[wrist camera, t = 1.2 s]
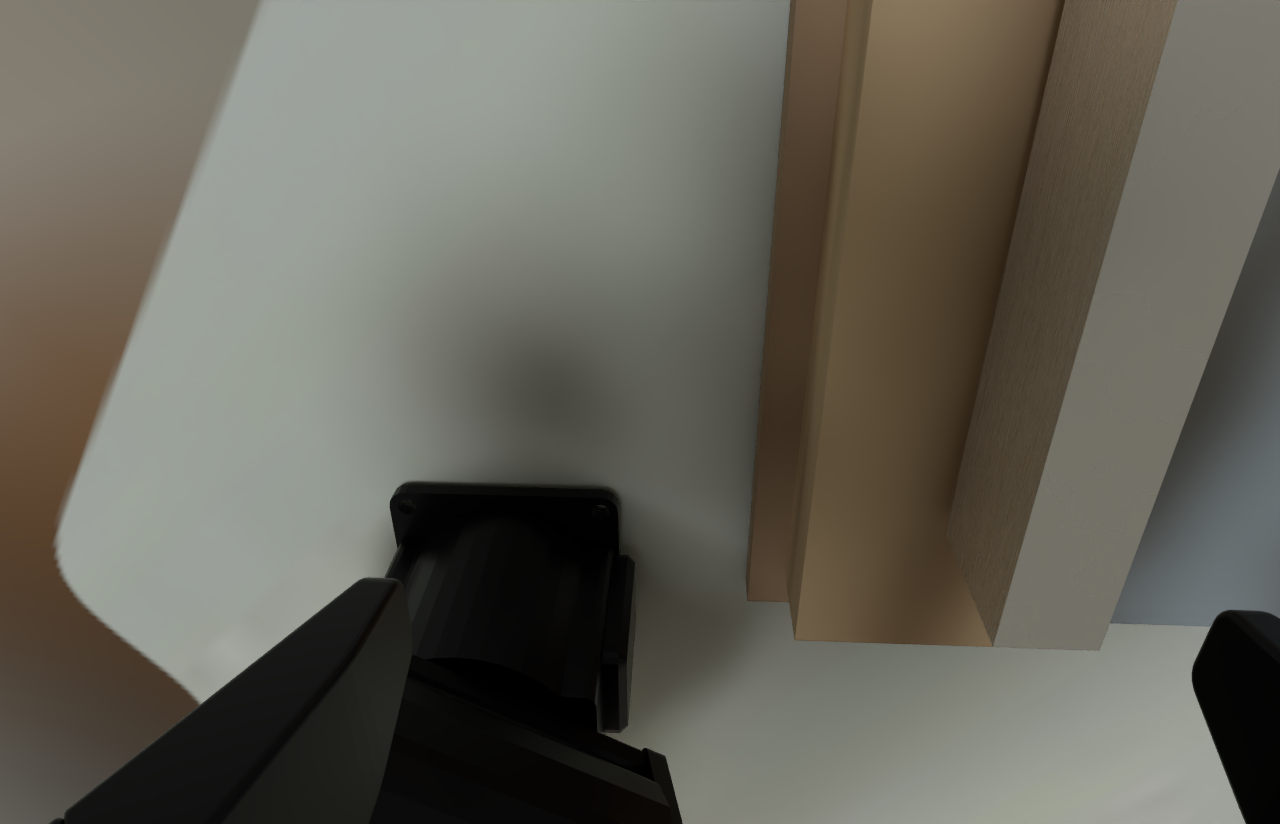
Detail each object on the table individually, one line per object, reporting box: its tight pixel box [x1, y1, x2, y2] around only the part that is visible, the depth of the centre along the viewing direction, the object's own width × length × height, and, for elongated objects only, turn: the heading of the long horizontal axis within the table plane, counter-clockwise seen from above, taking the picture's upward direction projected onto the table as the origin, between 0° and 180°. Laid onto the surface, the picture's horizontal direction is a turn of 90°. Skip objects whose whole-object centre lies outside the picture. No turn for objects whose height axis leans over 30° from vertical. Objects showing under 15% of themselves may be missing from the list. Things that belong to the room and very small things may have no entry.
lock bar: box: [945, 0, 1280, 651], centre depth 14 cm, size 16×3×4 cm, turn 0°
